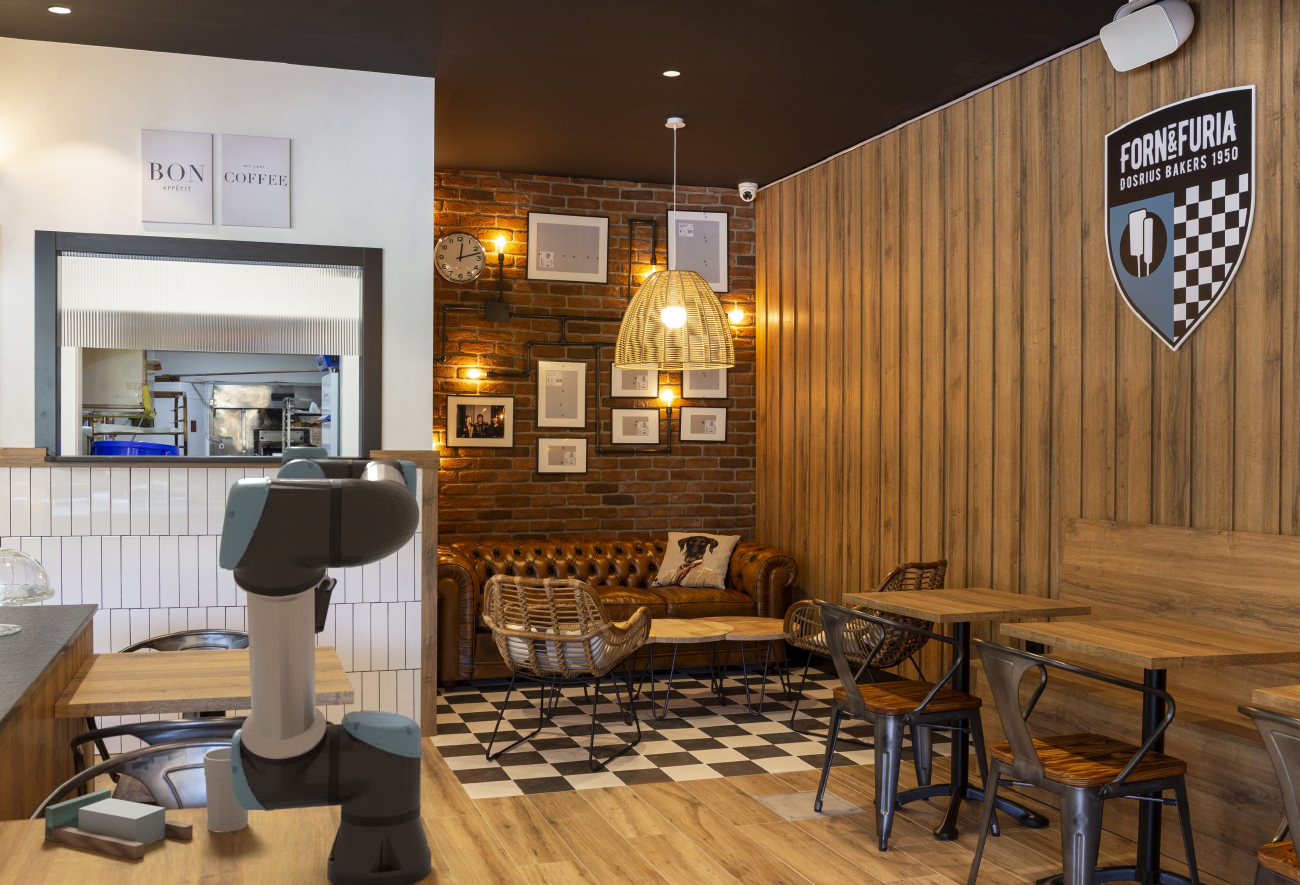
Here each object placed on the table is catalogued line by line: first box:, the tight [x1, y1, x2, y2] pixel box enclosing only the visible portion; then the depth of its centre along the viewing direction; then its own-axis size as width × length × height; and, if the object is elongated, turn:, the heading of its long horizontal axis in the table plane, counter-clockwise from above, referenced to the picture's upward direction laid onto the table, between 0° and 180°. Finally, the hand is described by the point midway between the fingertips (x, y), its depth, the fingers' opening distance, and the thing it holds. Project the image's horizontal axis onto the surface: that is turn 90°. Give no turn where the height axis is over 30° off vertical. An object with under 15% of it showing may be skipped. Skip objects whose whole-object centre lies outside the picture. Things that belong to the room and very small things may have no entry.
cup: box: [202, 746, 249, 833], centre depth 182 cm, size 8×8×12 cm
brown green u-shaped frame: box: [44, 788, 194, 861], centre depth 175 cm, size 20×11×5 cm, turn 66°
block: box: [78, 797, 166, 847], centre depth 175 cm, size 12×6×5 cm, turn 69°
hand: (301, 673), depth 187 cm, fingers closed
